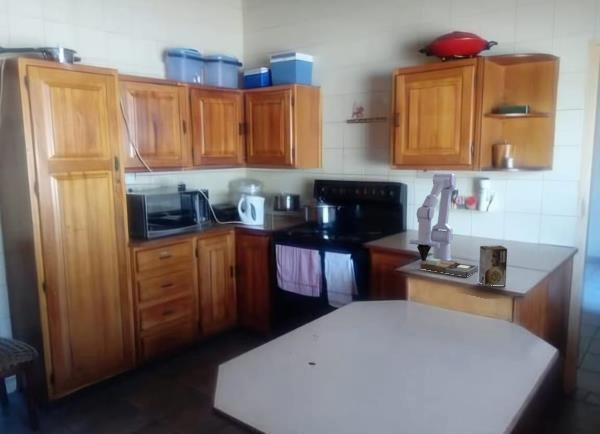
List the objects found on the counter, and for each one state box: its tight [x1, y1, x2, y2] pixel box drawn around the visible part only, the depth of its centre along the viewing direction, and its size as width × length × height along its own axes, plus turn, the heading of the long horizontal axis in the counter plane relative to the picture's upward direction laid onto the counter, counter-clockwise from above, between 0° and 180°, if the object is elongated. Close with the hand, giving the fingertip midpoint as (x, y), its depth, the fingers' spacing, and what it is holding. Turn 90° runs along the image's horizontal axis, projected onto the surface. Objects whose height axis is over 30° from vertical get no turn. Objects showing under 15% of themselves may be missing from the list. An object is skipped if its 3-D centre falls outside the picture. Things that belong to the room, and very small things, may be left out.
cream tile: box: [457, 265, 470, 271], centre depth 220 cm, size 4×4×2 cm
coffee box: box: [478, 245, 508, 287], centre depth 198 cm, size 9×6×16 cm
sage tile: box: [426, 257, 441, 265], centre depth 223 cm, size 4×4×2 cm
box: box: [446, 262, 479, 278], centre depth 218 cm, size 14×10×2 cm
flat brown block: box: [420, 258, 458, 273], centre depth 225 cm, size 14×12×3 cm
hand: (423, 260), depth 226 cm, fingers closed
